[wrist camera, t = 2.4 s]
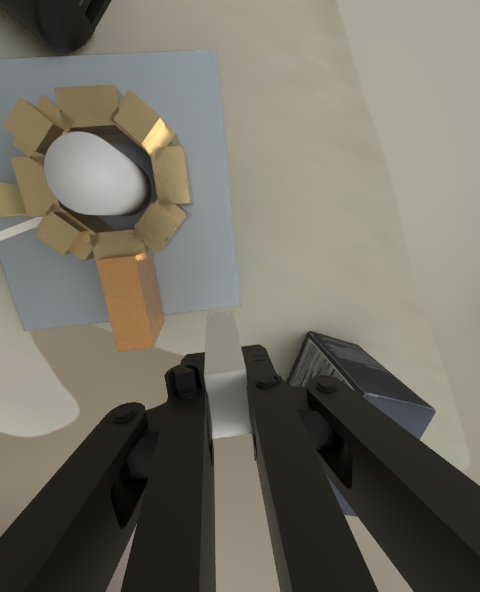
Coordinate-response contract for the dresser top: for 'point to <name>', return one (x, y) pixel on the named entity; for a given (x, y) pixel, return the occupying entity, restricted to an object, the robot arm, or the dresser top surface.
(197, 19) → the dresser top surface
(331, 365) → the small box
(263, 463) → the robot arm
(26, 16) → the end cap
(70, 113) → the gold ring with handle
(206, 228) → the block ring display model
